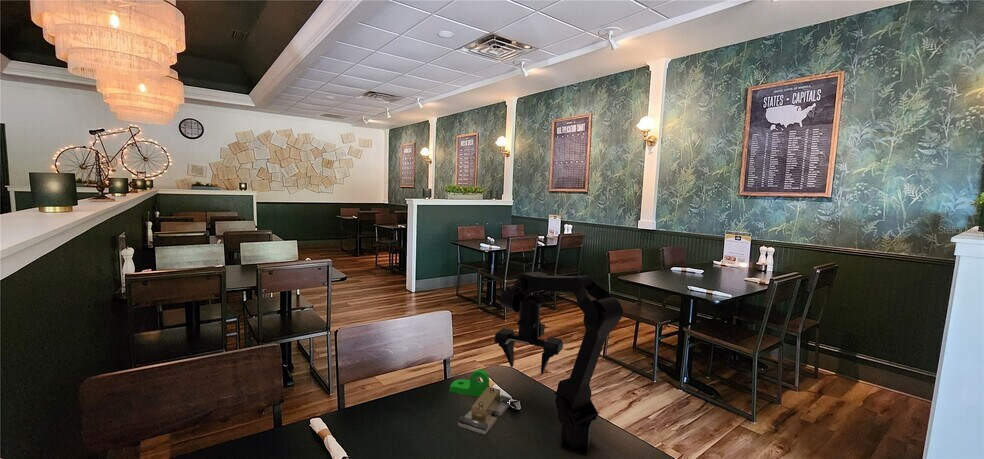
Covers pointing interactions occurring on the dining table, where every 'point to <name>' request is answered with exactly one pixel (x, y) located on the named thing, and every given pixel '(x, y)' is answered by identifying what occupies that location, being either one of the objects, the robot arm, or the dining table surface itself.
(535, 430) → the dining table surface
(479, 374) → the mechanical part
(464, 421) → the chain end
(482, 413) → the bar
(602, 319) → the robot arm
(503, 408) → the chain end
